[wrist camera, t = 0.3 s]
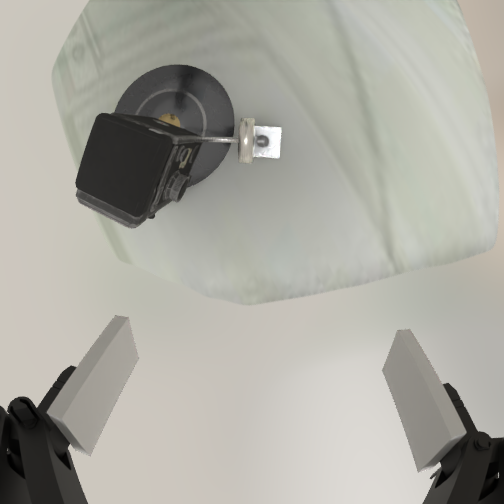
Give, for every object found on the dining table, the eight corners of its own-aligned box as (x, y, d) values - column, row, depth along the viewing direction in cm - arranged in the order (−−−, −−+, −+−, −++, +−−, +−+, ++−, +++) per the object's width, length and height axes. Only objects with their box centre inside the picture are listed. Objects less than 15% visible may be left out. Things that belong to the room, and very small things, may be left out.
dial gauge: (215, 123, 34) (190, 116, 23) (281, 126, 34) (286, 118, 23) (214, 156, 36) (189, 163, 25) (279, 159, 36) (283, 167, 24)
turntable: (115, 73, 32) (114, 73, 31) (237, 62, 31) (237, 61, 31) (113, 190, 38) (112, 191, 38) (231, 192, 38) (231, 192, 37)
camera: (124, 183, 38) (60, 209, 24) (149, 114, 34) (86, 107, 20) (186, 211, 39) (142, 253, 25) (216, 141, 35) (183, 143, 21)
